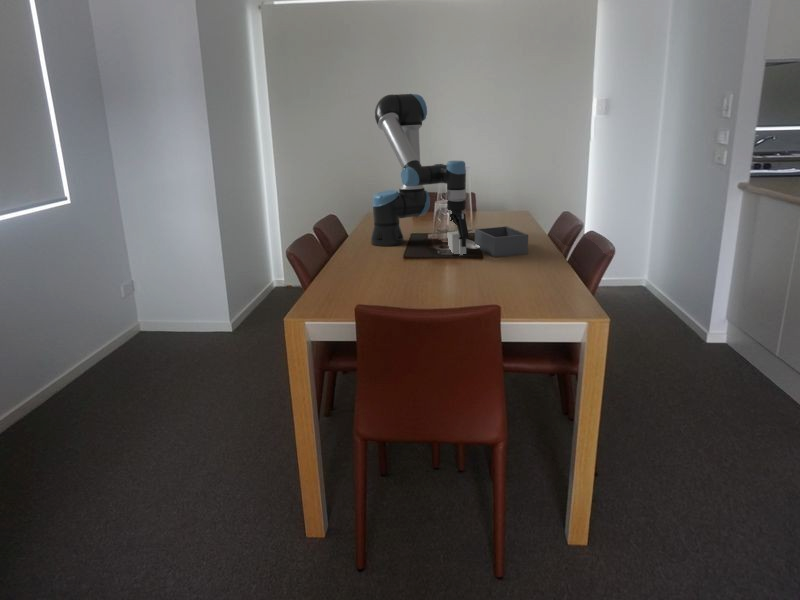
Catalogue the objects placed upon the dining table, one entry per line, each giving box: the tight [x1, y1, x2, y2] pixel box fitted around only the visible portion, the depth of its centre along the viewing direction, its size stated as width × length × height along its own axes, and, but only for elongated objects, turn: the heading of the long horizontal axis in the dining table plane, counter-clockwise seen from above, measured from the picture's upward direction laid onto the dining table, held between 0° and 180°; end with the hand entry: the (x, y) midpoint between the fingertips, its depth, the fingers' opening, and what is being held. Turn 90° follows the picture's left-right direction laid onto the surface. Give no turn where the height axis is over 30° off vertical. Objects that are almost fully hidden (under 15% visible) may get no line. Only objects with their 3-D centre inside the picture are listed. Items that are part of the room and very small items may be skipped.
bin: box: [474, 225, 529, 258], centre depth 252 cm, size 20×15×8 cm
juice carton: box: [446, 229, 460, 254], centre depth 249 cm, size 6×6×10 cm
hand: (456, 250), depth 250 cm, fingers open, 13 cm apart
